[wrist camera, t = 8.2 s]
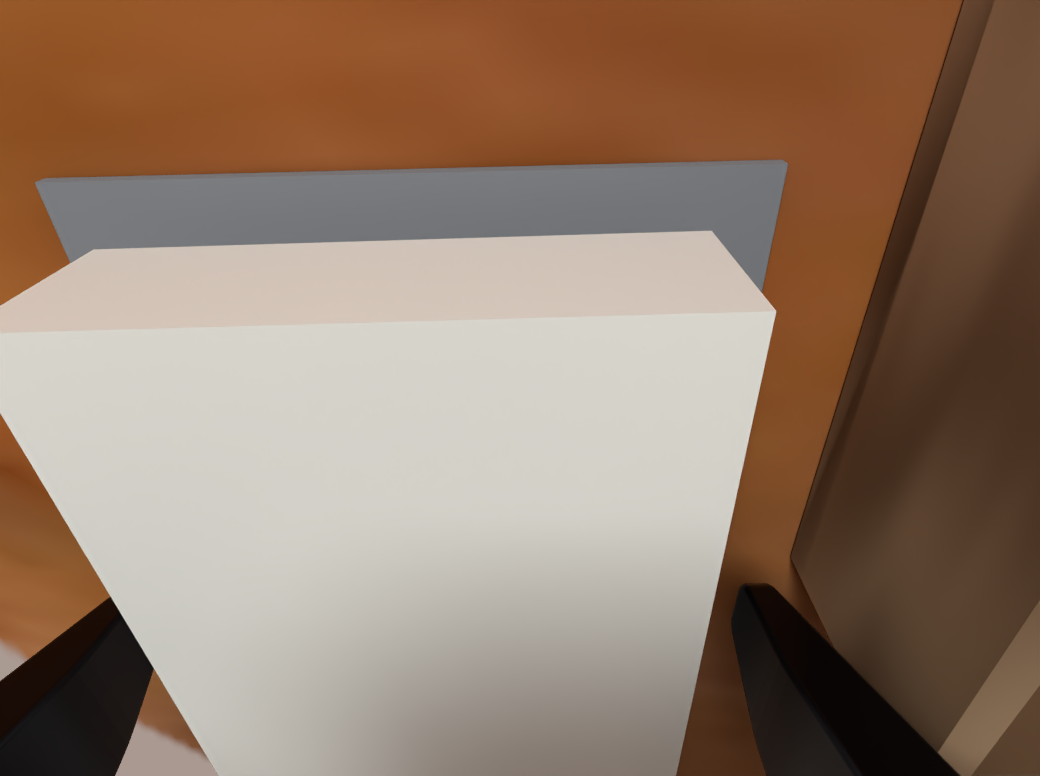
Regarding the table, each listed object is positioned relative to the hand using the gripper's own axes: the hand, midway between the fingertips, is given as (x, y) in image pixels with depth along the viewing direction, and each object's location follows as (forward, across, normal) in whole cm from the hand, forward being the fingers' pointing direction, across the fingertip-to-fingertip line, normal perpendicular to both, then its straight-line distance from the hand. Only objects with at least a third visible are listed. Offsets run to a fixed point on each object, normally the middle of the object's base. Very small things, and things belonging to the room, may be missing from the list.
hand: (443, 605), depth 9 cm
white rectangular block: (0, 0, 0) cm, 1 cm away
